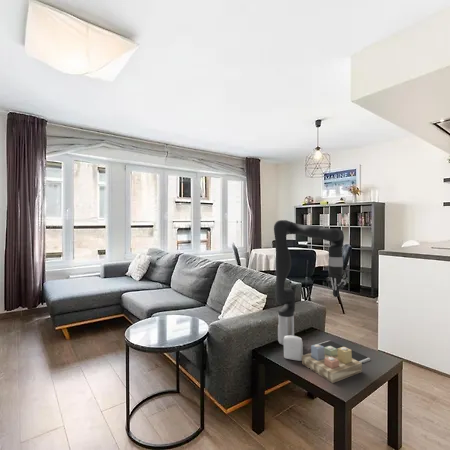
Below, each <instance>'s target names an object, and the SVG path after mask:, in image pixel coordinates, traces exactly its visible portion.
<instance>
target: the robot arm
mask: <svg viewBox="0 0 450 450" xmlns="http://www.w3.org/2000/svg"><path fill="white" fill-rule="evenodd" d="M273 231H274V232H273V233H274V241H275V242H274V243H275V275H276V276H275V278H276V279H275V290H274V291H275V292H274V293H275V295H274V297H275V301H276V303H277V304H278V305H281V306H282V305H283V306H282V307H280V308H279V309H278V311H277V313H278V325H277V341H278V343H279V344H280V345H282V346H284V337H285V336H288V335H292V336H295V319H294V318H295V317H294V316H295V315H294V313H295V310H296V308H295V307H296V294H295V291H294V289H293V288H291V287H285V284H286V279H287V278H288V276H289V274H290V272H291V269H292V256H291V252H290V250H289V247H288V245H287V244H288V243H287V235H299V236H304V237H306V238H311V239H317V240H323V241H328V242H330V246H329V247H328V261H327V265H328V266H327V267H328V270H327V271H328V277H326V278H325V281H326V282H327V284H328V286H329V288H330V289H332V295H333V298H338V297H339V296H340V290H343V289H344V287H345V286H346V285H347V281H346V280H345V279H344V277H343V274H344V259H343V246H344V239H345V236H344V234H345V233H344V232H343V230H342V229H341V228H338V227H337V228H336V227H335V228H331V227H330V228H329V227H324V226H319V225H308V224H301V223H296V222H293V221H289V220H287V219H283V220H282V219H281V220H279V219H278V220H276V222H275V223H274V225H273Z"/></svg>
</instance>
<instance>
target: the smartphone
mask: <svg viewBox="0 0 450 450" xmlns="http://www.w3.org/2000/svg"><path fill="white" fill-rule="evenodd" d="M318 344H319V345H321V346H323V347H327V346H332V347H334V348H336V349H337V348H341V347H345V346H344V345H342V344H339V343H337V342H335V341H332V340H326V341H324V342H320V343H318ZM349 349H350V350H352V358H353V359H355V360H357V361H359V362H361V363H362V364H363V363H364V364H365V363H367V362H369V361H371V358H370V357H369V356H366V355H365V354H362V353H360V352H357V351H355V350H353V349H351V348H349ZM337 351H338V350H337Z"/></svg>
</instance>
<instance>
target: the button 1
mask: <svg viewBox="0 0 450 450" xmlns="http://www.w3.org/2000/svg"><path fill="white" fill-rule="evenodd" d="M319 344H320V343H316V344H312V345H310V353H311V357H312V358H314V359H315V360H317V361H319V360H322V359H324V358H325V355H324V347H323V346H321V345H319Z"/></svg>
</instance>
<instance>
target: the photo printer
mask: <svg viewBox="0 0 450 450" xmlns="http://www.w3.org/2000/svg"><path fill="white" fill-rule="evenodd" d="M303 344H304V343H303V339H302V338H301V337H300V336H297V335H294V336H292V335H288V336H285V337H284V345H283V358H284V359H287V360H293V361H298V362H302V356H303V355H304V346H303Z"/></svg>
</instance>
